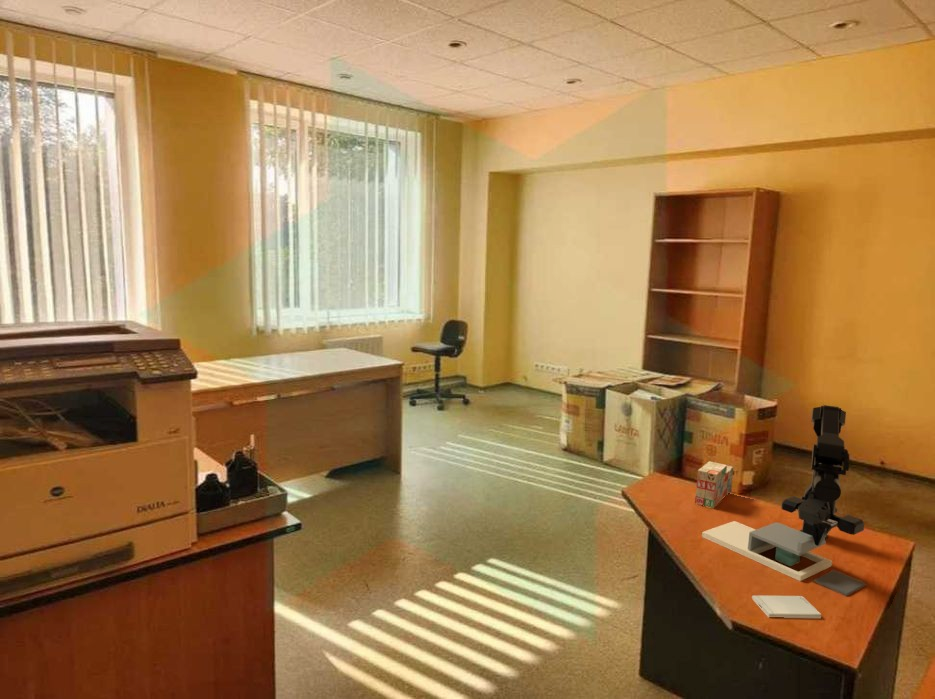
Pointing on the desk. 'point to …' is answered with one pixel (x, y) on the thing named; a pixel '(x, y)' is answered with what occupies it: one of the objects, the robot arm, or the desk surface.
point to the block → (786, 557)
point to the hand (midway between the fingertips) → (817, 545)
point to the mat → (840, 582)
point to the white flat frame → (760, 549)
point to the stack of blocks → (713, 483)
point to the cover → (782, 539)
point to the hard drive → (786, 606)
